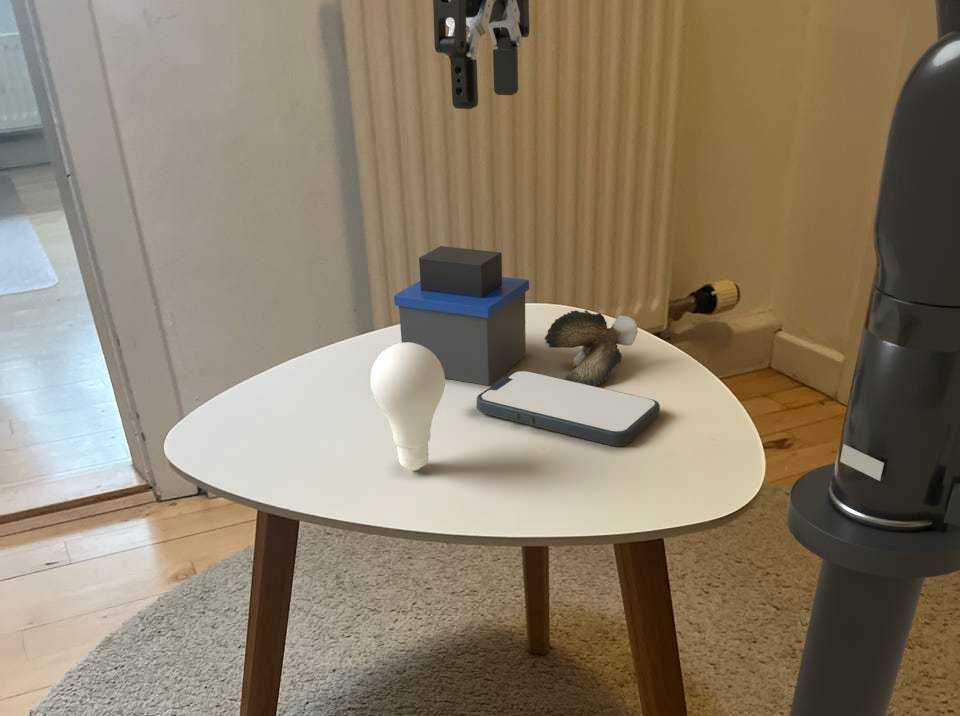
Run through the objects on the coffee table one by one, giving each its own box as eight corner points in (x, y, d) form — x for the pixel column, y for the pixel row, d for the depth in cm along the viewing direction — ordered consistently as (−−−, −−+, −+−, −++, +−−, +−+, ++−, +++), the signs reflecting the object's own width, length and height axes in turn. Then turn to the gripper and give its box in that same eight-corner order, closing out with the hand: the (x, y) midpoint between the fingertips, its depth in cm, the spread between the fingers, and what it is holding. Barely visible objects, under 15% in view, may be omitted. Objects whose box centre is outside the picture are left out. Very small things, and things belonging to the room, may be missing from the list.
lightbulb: (408, 447, 89) (399, 326, 82) (463, 464, 86) (458, 339, 79) (364, 474, 85) (350, 349, 78) (420, 492, 82) (411, 364, 75)
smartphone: (663, 416, 93) (517, 382, 100) (665, 400, 92) (517, 367, 99) (623, 453, 87) (470, 414, 94) (624, 436, 86) (470, 398, 93)
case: (502, 284, 100) (501, 252, 98) (482, 298, 97) (481, 264, 95) (442, 277, 103) (440, 245, 101) (420, 290, 100) (418, 257, 98)
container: (529, 355, 106) (529, 279, 101) (490, 387, 99) (488, 308, 94) (443, 342, 110) (439, 269, 105) (399, 372, 103) (393, 295, 98)
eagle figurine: (563, 340, 106) (527, 352, 99) (603, 286, 102) (568, 294, 95) (613, 388, 105) (581, 403, 98) (656, 336, 101) (625, 348, 94)
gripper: (482, -127, 74) (489, 114, 83) (555, -125, 84) (554, 91, 94) (396, -121, 77) (412, 112, 86) (476, -119, 87) (483, 89, 96)
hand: (486, 101), depth 90 cm, fingers open, 8 cm apart
